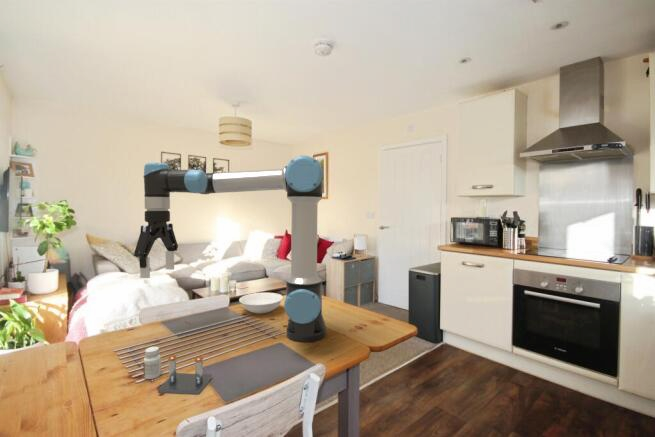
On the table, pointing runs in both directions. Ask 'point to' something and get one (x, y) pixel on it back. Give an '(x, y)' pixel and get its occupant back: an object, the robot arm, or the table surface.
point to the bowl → (261, 302)
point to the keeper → (185, 379)
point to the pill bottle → (152, 363)
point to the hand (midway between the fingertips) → (158, 273)
